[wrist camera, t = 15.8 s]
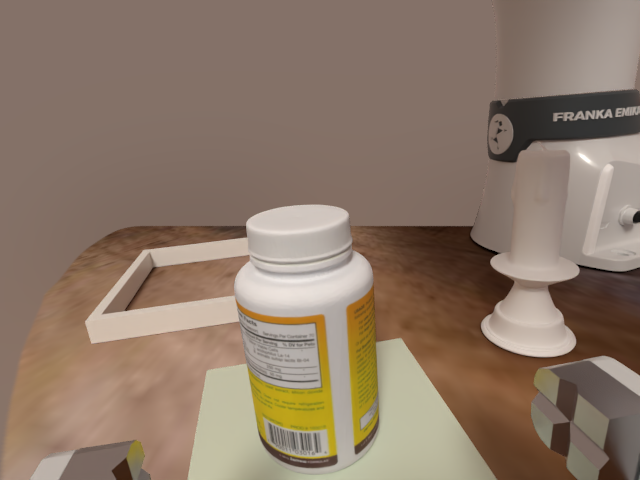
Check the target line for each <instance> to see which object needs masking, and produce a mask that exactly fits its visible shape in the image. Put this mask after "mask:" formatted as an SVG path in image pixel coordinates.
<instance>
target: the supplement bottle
mask: <svg viewBox="0 0 640 480" xmlns="http://www.w3.org/2000/svg"><path fill="white" fill-rule="evenodd" d="M246 229H247V237H248V252H249V253H250V261H249V262H248V263H247V264H245V265H244V266H243V267H242V268H241V270H240V271H239V272H238V274H237V276H236V279H235V283H234V290H235V300H236V305H237V310H238V317H239V321H240V327H241V333H242V339H243V345H244V350H245V356H246V363H247V368H248V374H249V380H250V386H251V392H252V398H253V404H254V410H255V416H256V422H257V428H258V433H259V437H260V440H261V443H262V445H263V447H264V449H265V451H266V452H267V454H268V455H269V456H270V457H271V458H272V459H273V460H274V461H275V462H276V463H278V464H279V465H281V466H282V467H284V468H286V469H288V470H291V471H294V472H297V473H301V474H309V475H319V474H328V473H333V472H336V471H339V470H342V469H344V468H346V467H348V466H350V465H352V464H353V463H355V462H356V461H358V460H359V459H360V458H362V457H363V456H364V455H365V454H366V452H367V451H368V450H369V449H370V447H371V446H372V444H373V442H374V440H375V438H376V436H377V433H378V428H379V398H378V375H377V354H376V331H375V308H374V282H373V272H372V268H371V266H370V264H369V262H368V261H367V260H366V258H364V257H363V256H362V255H361V254H359V253H358V252H356V251H354V250H352V245H351V243H352V236H351V231H350V218H349V214H348V212H347V211H345V210H344V209H342V208H338V207H334V206H327V205H296V206H288V207H281V208H276V209H272V210H268V211H265V212H261V213H259V214H257V215H254V216H253V217H251V218H250V219H249V220H248V221H247V223H246Z"/></svg>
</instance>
